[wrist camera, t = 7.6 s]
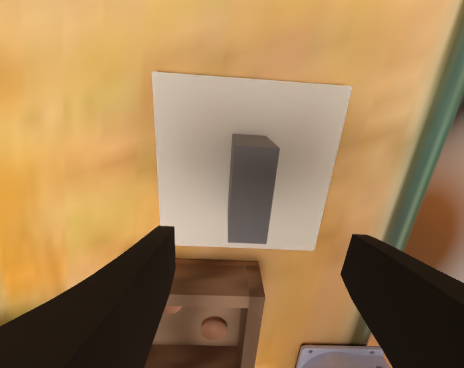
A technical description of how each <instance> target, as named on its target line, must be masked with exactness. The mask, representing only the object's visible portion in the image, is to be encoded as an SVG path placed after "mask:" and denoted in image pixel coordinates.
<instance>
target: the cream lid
mask: <svg viewBox="0 0 464 368" xmlns="http://www.w3.org/2000/svg"><path fill="white" fill-rule="evenodd" d="M152 86H153V103H154V121H155V139H156V156H157V174H158V192H159V209H160V226H174V229H175V245H181V246H206V247H232V248H257V249H283V250H309V251H314V250H315V246H316V241H317V237H318V233H319V228H320V224H321V220H322V216H323V211H324V207H325V203H326V198H327V194H328V190H329V186H330V181H331V177H332V173H333V168H334V164H335V160H336V156H337V151H338V147H339V143H340V138H341V134H342V130H343V126H344V121H345V117H346V113H347V108H348V104H349V100H350V96H351V91H352V87H353V86H344V85H330V84H316V83H303V82H289V81H275V80H262V79H248V78H234V77H221V76H207V75H193V74H180V73H166V72H152Z"/></svg>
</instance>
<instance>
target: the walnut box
mask: <svg viewBox="0 0 464 368" xmlns="http://www.w3.org/2000/svg"><path fill="white" fill-rule="evenodd" d="M175 263H176V269H175V274H174V278H173V283H172V287H171V291H170V295H169V298H168V301H167V303H166V306H165V309H164V312H163V315H162V318H161V321H160V323H159V326H158V329H157V332H156V335H155V338H154V340H153V343H152V346H151V349H150V352H149V355H148V358H147V361H146V364H145V367H144V368H254V366H255V360H256V353H257V346H258V340H259V333H260V327H261V320H262V314H263V307H264V301H265V294H264V289H263V284H262V279H261V274H260V269H259V264H258V262H256V261H228V260H199V259H175Z"/></svg>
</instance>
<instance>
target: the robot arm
mask: <svg viewBox="0 0 464 368" xmlns="http://www.w3.org/2000/svg"><path fill="white" fill-rule="evenodd" d="M175 269H176V263H175V229H174V226H158V227H156V228H155V229H154V230H152V231H151V232H150V233H149V234H147V235H146V236H145V237H144V238H142V239H141V240H140V241H138V242H137V243H136V244H135V245H133V246H132V247H131V248H129V249H128V250H127V251H125V252H124V253H123V254H121V255H120V256H119V257H117V258H116V259H114V260H113V261H111V262H110V263H109V264H107V265H106V266H104V267H103V268H101V269H100V270H98V271H97V272H96V273H94V274H93V275H91V276H90V277H88V278H86V279H85V280H83V281H82V282H80V283H78V284H77V285H75V286H74V287H72V288H70V289H68V290H67V291H65V292H63V293H62V294H60V295H58V296H57V297H55V298H53V299H51V300H50V301H48V302H46V303H44V304H42V305H40V306H38V307H36V308H35V309H33V310H31V311H29V312H27V313H25V314H23V315H21V316H19V317H17V318H15V319H14V320H12V321H10V322H8V323H6V324H4V325H2V326H0V368H144V367H145V364H146V361H147V358H148V355H149V352H150V349H151V346H152V343H153V340H154V338H155V335H156V332H157V329H158V326H159V323H160V321H161V318H162V315H163V312H164V309H165V306H166V303H167V301H168V298H169V295H170V291H171V287H172V283H173V278H174V274H175ZM341 276H342V279H343V281H344V283H345V286H346V288H347V290H348V292H349V295H350V297H351V299H352V300H353V302H354V304H355V306H356V307H357V309H358V311H359V312H360V314H361V316H362V317H363V319H364V321H365V322H366V324H367V326H368V327H369V329H370V330H371V332H372V334H373V335H374V337H375V339H376V340H377V342H378V343H379V345H380V346H328V345H304V346H302V347H301V349H300V353H299V357H298V361H297V365H296V368H390V367H389V366H388V364H387V362H386V361H385V359H384V357H383V355H384V353H385V355H386V357H387V358H388V360H389V362H390V363H391V365H392V367H393V368H464V283H462V282H460V281H458V280H456V279H454V278H452V277H450V276H448V275H446V274H444V273H442V272H440V271H438V270H436V269H434V268H432V267H431V266H429V265H427V264H425V263H423V262H421V261H419V260H417V259H415V258H413V257H411V256H409V255H408V254H406V253H404V252H402V251H400V250H398V249H396V248H394V247H392V246H390V245H388V244H386V243H384V242H382V241H380V240H378V239H376V238H374V237H371V236H369V235H359V234H352V238H351V241H350V244H349V248H348V251H347V254H346V258H345V261H344V264H343V268H342V271H341Z"/></svg>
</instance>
